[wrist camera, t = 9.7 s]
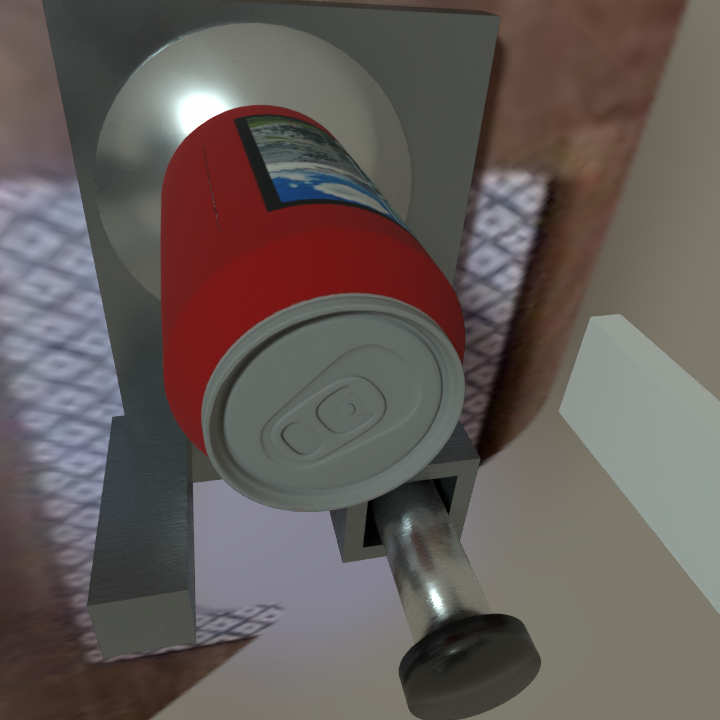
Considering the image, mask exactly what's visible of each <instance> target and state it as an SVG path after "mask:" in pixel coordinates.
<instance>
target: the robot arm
mask: <svg viewBox="0 0 720 720" xmlns="http://www.w3.org/2000/svg"><path fill="white" fill-rule="evenodd" d="M559 413H560V414H561V415H562V416H563V418H564V419H565V420H566V422H567V423H568V424H569V425H570V426H571V428H572V429H573V430H574V431H575V433H576V434H577V435H578V437H579V438H580V439H581V440H582V442H583V443H584V444H585V445H586V447H587V448H588V449H589V450H590V452H591V453H592V454H593V456H594V457H595V458H596V459H597V460H598V462H599V463H600V464H601V466H602V467H603V468H604V469H605V471H606V472H607V473H608V474H609V476H610V477H611V478H612V479H613V481H614V482H615V483H616V484H617V486H618V487H619V488H620V489H621V491H622V492H623V493H624V494H625V496H626V497H627V498H628V499H629V501H630V502H631V503H632V505H633V506H634V507H635V508H636V509H637V511H638V512H639V513H640V515H641V516H642V517H643V518H644V519H645V521H646V522H647V523H648V525H649V526H650V527H651V528H652V530H653V531H654V532H655V533H656V535H657V536H658V537H659V538H660V540H661V541H662V542H663V543H664V545H665V546H666V547H667V549H668V550H669V551H670V552H671V553H672V555H673V556H674V557H675V558H676V560H677V561H678V562H679V563H680V565H681V566H682V567H683V568H684V570H685V571H686V572H687V574H688V575H689V576H690V577H691V579H692V580H693V581H694V582H695V584H696V585H697V586H698V587H699V589H700V590H701V591H702V593H703V594H704V595H705V596H706V598H707V599H708V600H709V601H710V603H711V604H712V605H713V606H714V608H715V609H716V610H717V611H718V613H719V614H720V401H719V400H717V399H716V398H715V397H714V396H713V395H712V394H711V393H709V392H708V391H707V390H706V389H705V388H704V387H703V386H701V385H700V384H699V383H698V382H697V381H696V380H695V379H693V378H692V377H691V376H690V375H689V374H688V373H687V372H686V371H684V370H683V369H682V368H681V367H680V366H679V365H678V364H676V363H675V362H674V361H673V360H672V359H671V358H669V357H668V356H667V355H666V354H665V353H664V352H663V351H661V350H660V349H659V348H658V347H657V346H656V345H655V344H654V343H652V342H651V341H650V340H649V339H648V338H647V337H646V336H644V335H643V334H642V333H641V332H640V331H639V330H637V329H636V328H635V327H634V326H633V325H632V324H631V323H630V322H629V321H627V320H626V319H625V318H624V317H623V316H622V315H620V314H618V315H607V316H595V317H591V318H590V321H589V324H588V326H587V329H586V332H585V335H584V338H583V341H582V344H581V347H580V350H579V353H578V356H577V359H576V362H575V365H574V368H573V371H572V374H571V377H570V380H569V383H568V386H567V388H566V391H565V394H564V397H563V401H562V404H561V406H560V409H559Z"/></svg>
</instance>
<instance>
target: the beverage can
mask: <svg viewBox="0 0 720 720" xmlns="http://www.w3.org/2000/svg"><path fill="white" fill-rule="evenodd" d="M160 249H161V320H162V349H163V377H164V387H165V392H166V397H167V400H168V403H169V406H170V409H171V411H172V413H173V416H174V418H175V420H176V421H177V423H178V425H179V426H180V428H181V429H182V431H183V432H184V433H185V435H186V436H187V437H188V439H189V440H190V441H191V442H192V443H193V444H194V445H195V446H196V447H197V448H198V449H199V450H200V451H201V452H202V453H204V454H205V455H206V456H207V457H208V458H209V459H210V461H211V463H212V465H213V466H214V468H215V470H216V471H217V472H218V474H219V475H220V476H221V478H222V479H223V480H224V481H225V482H226V483H227V484H228V485H230V486H231V487H232V488H233V489H234V490H236V491H237V492H239V493H240V494H242V495H243V496H245V497H247V498H249V499H251V500H253V501H255V502H257V503H260V504H263V505H266V506H269V507H273V508H277V509H282V510H289V511H298V512H319V511H329V510H336V509H341V508H346V507H350V506H354V505H358V504H361V503H363V502H366V501H369V500H372V499H375V498H377V497H379V496H381V495H383V494H385V493H387V492H389V491H391V490H393V489H395V488H397V487H398V486H400V485H402V484H403V483H405V482H406V481H408V480H409V479H411V478H412V477H413V476H415V475H416V474H417V473H418V472H420V471H421V470H422V469H423V468H424V467H426V466H427V465H428V464H429V463H430V462H431V461H432V459H433V458H434V457H435V456H436V455H437V454H438V453H439V452H440V451H441V449H442V448H443V447H444V445H445V444H446V442H447V441H448V439H449V438H450V437H451V435H452V433H453V431H454V429H455V427H456V425H457V423H458V420H459V418H460V415H461V412H462V408H463V404H464V398H465V376H464V370H463V367H462V365H463V358H464V351H465V327H464V320H463V314H462V310H461V306H460V303H459V301H458V298H457V295H456V293H455V291H454V289H453V288H452V286H451V284H450V283H449V281H448V280H447V278H446V277H445V275H444V274H443V273H442V271H441V270H440V269H439V267H438V266H437V265H436V263H435V262H434V261H433V259H432V258H431V257H430V255H429V254H428V253H427V252H426V250H425V249H424V248H423V246H422V245H421V244H420V242H419V241H418V240H417V238H416V237H415V236H414V234H413V233H412V232H411V230H410V229H409V228H408V227H407V225H406V224H405V223H404V222H403V220H402V219H401V218H400V216H399V215H398V214H397V213H396V211H395V210H394V209H393V208H392V206H391V205H390V204H389V203H388V201H387V200H386V199H385V197H384V196H383V195H382V194H381V192H380V191H379V190H378V189H377V187H376V186H375V185H374V184H373V182H372V181H371V180H370V179H369V178H368V176H367V175H366V174H365V173H364V171H363V170H362V169H361V168H360V167H359V165H358V164H357V163H356V162H355V161H354V159H353V158H352V157H351V156H350V155H349V153H348V152H347V151H346V150H345V149H344V147H343V146H342V145H341V144H340V143H339V142H338V140H337V139H336V138H335V137H334V136H333V135H332V134H331V133H330V132H329V131H328V130H327V129H326V128H325V127H323V126H322V125H321V124H319V123H318V122H316V121H315V120H313V119H312V118H310V117H308V116H306V115H304V114H302V113H300V112H297V111H294V110H291V109H288V108H284V107H279V106H272V105H249V106H242V107H238V108H233V109H230V110H227V111H224V112H222V113H219V114H217V115H215V116H213V117H211V118H209V119H208V120H206V121H205V122H203V123H202V124H200V125H199V126H198V127H196V128H195V129H194V130H193V131H192V132H191V133H190V134H189V135H188V136H187V137H186V138H185V139H184V140H183V141H182V143H181V144H180V145H179V146H178V148H177V149H176V151H175V152H174V154H173V156H172V158H171V160H170V162H169V164H168V167H167V169H166V172H165V176H164V180H163V184H162V192H161V230H160Z"/></svg>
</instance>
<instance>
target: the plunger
mask: <svg viewBox="0 0 720 720" xmlns="http://www.w3.org/2000/svg"><path fill="white" fill-rule="evenodd" d="M369 503H370V506H371V509H372V513H373V516H374V519H375V522H376V525H377V528H378V531H379V534H380V537H381V540H382V544H383V547H384V550H385V553H386V556H387V558H388V562H389V565H390V568H391V571H392V574H393V577H394V581H395V584H396V587H397V590H398V593H399V596H400V599H401V602H402V605H403V609H404V612H405V615H406V618H407V621H408V624H409V627H410V630H411V633H412V636H413V639H414V642H415V645H414V646H413V647H411V648H410V650H409V651H408V652H407V653H406V654H405V656H404V657H403V659H402V661H401V663H400V666H399V677H400V680H401V684H402V687H403V691H404V694H405V697H406V701H407V705H408V708H409V710H410V712H411V713H412V714H413V715H414V716H416V717H417V718H420V719H423V720H458V719H464V718H467V717H471V716H475V715H477V714H481V713H483V712H486V711H489V710H491V709H493V708H495V707H497V706H499V705H501V704H503V703H505V702H506V701H508V700H510V699H511V698H513V697H515V696H516V695H517V694H519V693H520V692H521V691H523V690H524V689H525V688H526V687H527V686H528V685H529V684H530V683H531V682H532V681H533V680H534V678H535V677H536V675H537V674H538V672H539V669H540V665H541V659H540V656H539V654H538V652H537V650H536V648H535V646H534V644H533V642H532V640H531V638H530V636H529V633H528V631H527V629H526V627H525V625H524V624H523V623H522V622H521V621H520V620H519V619H517V618H515V617H513V616H509V615H505V614H492V612H491V609H490V607H489V605H488V603H487V600H486V598H485V596H484V594H483V591H482V589H481V587H480V585H479V583H478V580H477V578H476V576H475V574H474V571H473V569H472V567H471V565H470V562H469V560H468V558H467V556H466V554H465V552H464V549H463V547H462V545H461V543H460V540H459V538H458V536H457V533H456V531H455V529H454V527H453V525H452V522H451V520H450V518H449V516H448V513H447V511H446V509H445V507H444V504H443V502H442V500H441V498H440V496H439V493H438V491H437V489H436V487H435V484H434V482H433V480H432V479H428V480H420V481H412V482H405V483H403V484H402V485H400V486H398V487H397V488H395V489H393V490H391V491H389V492H387V493H385V494H383V495H381V496H379V497H377V498H375V499H372V500H369Z"/></svg>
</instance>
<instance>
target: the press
mask: <svg viewBox="0 0 720 720" xmlns="http://www.w3.org/2000/svg"><path fill="white" fill-rule="evenodd" d="M42 3H43V8H44V13H45V18H46V23H47V28H48V33H49V38H50V43H51V48H52V53H53V58H54V63H55V68H56V73H57V78H58V83H59V88H60V93H61V98H62V103H63V108H64V113H65V118H66V123H67V128H68V133H69V138H70V143H71V148H72V153H73V158H74V163H75V168H76V173H77V178H78V183H79V188H80V193H81V198H82V203H83V208H84V213H85V218H86V223H87V228H88V233H89V238H90V243H91V248H92V253H93V258H94V263H95V268H96V273H97V278H98V283H99V288H100V293H101V298H102V303H103V308H104V313H105V318H106V323H107V328H108V333H109V338H110V343H111V348H112V353H113V358H114V363H115V368H116V373H117V378H118V383H119V388H120V393H121V398H122V403H123V408H124V413H125V416H116V417H112V425H111V432H110V440H109V447H108V454H107V462H106V469H105V476H104V484H103V491H102V498H101V506H100V513H99V521H98V528H97V535H96V543H95V550H94V557H93V565H92V572H91V580H90V587H89V594H88V602H87V608H88V611H89V614H90V617H91V620H92V623H93V627H94V630H95V633H96V636H97V639H98V642H99V645H100V648H101V651H102V654H103V658H109V657H115V656H120V655H126V654H131V653H137V652H143V651H148V650H154V649H159V648H165V647H170V646H176V645H182V644H187V643H193V642H196V612H195V570H194V569H195V568H194V525H193V524H194V522H193V483H194V482H203V481H210V480H219V479H222V478H221V476H220V475H219V474H218V472H217V471H216V470H215V468H214V466H213V465H212V463H211V461H210V459H209V458H208V457H207V456H206V455H205V454H204V453H202V452H201V451H200V450H199V449H198V448H197V447H196V446H195V445H194V444H193V443H192V442H191V441H190V440H189V439H188V437H187V436H186V435H185V433H184V432H183V431H182V429H181V428H180V426H179V425H178V423H177V421H176V420H175V418H174V416H173V413H172V411H171V409H170V406H169V403H168V400H167V397H166V392H165V387H164V377H163V349H162V320H161V249H160V230H161V192H162V184H163V180H164V176H165V172H166V169H167V167H168V164H169V162H170V160H171V158H172V156H173V154H174V152H175V151H176V149H177V148H178V146H179V145H180V144H181V143H182V141H183V140H184V139H185V138H186V137H187V136H188V135H189V134H190V133H191V132H192V131H193V130H194V129H195V128H196V127H198V126H199V125H200V124H202V123H203V122H205V121H206V120H208V119H209V118H211V117H213V116H215V115H217V114H219V113H222V112H224V111H227V110H230V109H233V108H238V107H242V106H249V105H272V106H279V107H284V108H288V109H291V110H294V111H297V112H300V113H302V114H304V115H306V116H308V117H310V118H312V119H313V120H315V121H316V122H318V123H319V124H321V125H322V126H323V127H325V128H326V129H327V130H328V131H329V132H330V133H331V134H332V135H333V136H334V137H335V138H336V139H337V140H338V142H339V143H340V144H341V145H342V146H343V147H344V149H345V150H346V151H347V152H348V153H349V155H350V156H351V157H352V158H353V159H354V161H355V162H356V163H357V164H358V165H359V167H360V168H361V169H362V170H363V171H364V173H365V174H366V175H367V176H368V178H369V179H370V180H371V181H372V182H373V184H374V185H375V186H376V187H377V189H378V190H379V191H380V192H381V194H382V195H383V196H384V197H385V199H386V200H387V201H388V203H389V204H390V205H391V206H392V208H393V209H394V210H395V211H396V213H397V214H398V215H399V216H400V218H401V219H402V220H403V222H404V223H405V224H406V225H407V227H408V228H409V229H410V230H411V232H412V233H413V234H414V236H415V237H416V238H417V240H418V241H419V242H420V244H421V245H422V246H423V248H424V249H425V250H426V252H427V253H428V254H429V255H430V257H431V258H432V259H433V261H434V262H435V263H436V265H437V266H438V267H439V269H440V270H441V271H442V273H443V274H444V275H445V277H446V278H447V280H448V281H449V283H450V284H451V286H452V288H453V283H454V277H455V272H456V266H457V260H458V255H459V249H460V243H461V238H462V232H463V226H464V221H465V215H466V209H467V204H468V198H469V192H470V187H471V181H472V175H473V170H474V164H475V158H476V153H477V147H478V141H479V136H480V130H481V124H482V119H483V113H484V107H485V102H486V96H487V90H488V85H489V79H490V73H491V68H492V62H493V56H494V50H495V45H496V39H497V33H498V28H499V22H500V16H498V15H495V14H491V13H488V12H485V11H476V10H459V9H441V8H423V7H405V6H388V5H370V4H352V3H334V2H317V1H299V0H42ZM479 462H480V457H479V455H478V453H477V451H476V449H475V448H474V446H473V444H472V442H471V440H470V439H469V437H468V435H467V433H466V431H465V430H464V428H463V426H462V424H461V422H460V421H459V420H458V423H457V425H456V427H455V429H454V431H453V433H452V435H451V437H450V438H449V439H448V441H447V442H446V444H445V445H444V447H443V448H442V449H441V451H440V452H439V453H438V454H437V455H436V456H435V457H434V458H433V459H432V461H431V462H430V463H429V464H428V465H427V466H426V467H424V468H423V469H422V470H421V471H420V472H418V473H417V474H416V475H415V476H413V477H412V478H411V479H409V480H408V481H406V482H412V481H420V480H428V479H432V480H433V482H434V484H435V487H436V489H437V491H438V493H439V496H440V498H441V500H442V502H443V504H444V507H445V509H446V511H447V513H448V516H449V518H450V520H451V522H452V525H453V527H454V529H455V531H456V533H457V536H458V538H459V540H460V537H461V534H462V530H463V526H464V522H465V518H466V514H467V510H468V506H469V502H470V498H471V494H472V490H473V486H474V482H475V478H476V474H477V470H478V466H479ZM329 511H330V514H331V518H332V522H333V526H334V530H335V534H336V538H337V542H338V546H339V550H340V554H341V558H342V562H343V563H345V562H352V561H358V560H364V559H370V558H376V557H383V556H386V553H385V550H384V547H383V544H382V540H381V537H380V534H379V531H378V528H377V525H376V522H375V519H374V516H373V513H372V509H371V506H370V503H369V501H366V502H363V503H361V504H358V505H354V506H350V507H346V508H341V509H336V510H329Z"/></svg>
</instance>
